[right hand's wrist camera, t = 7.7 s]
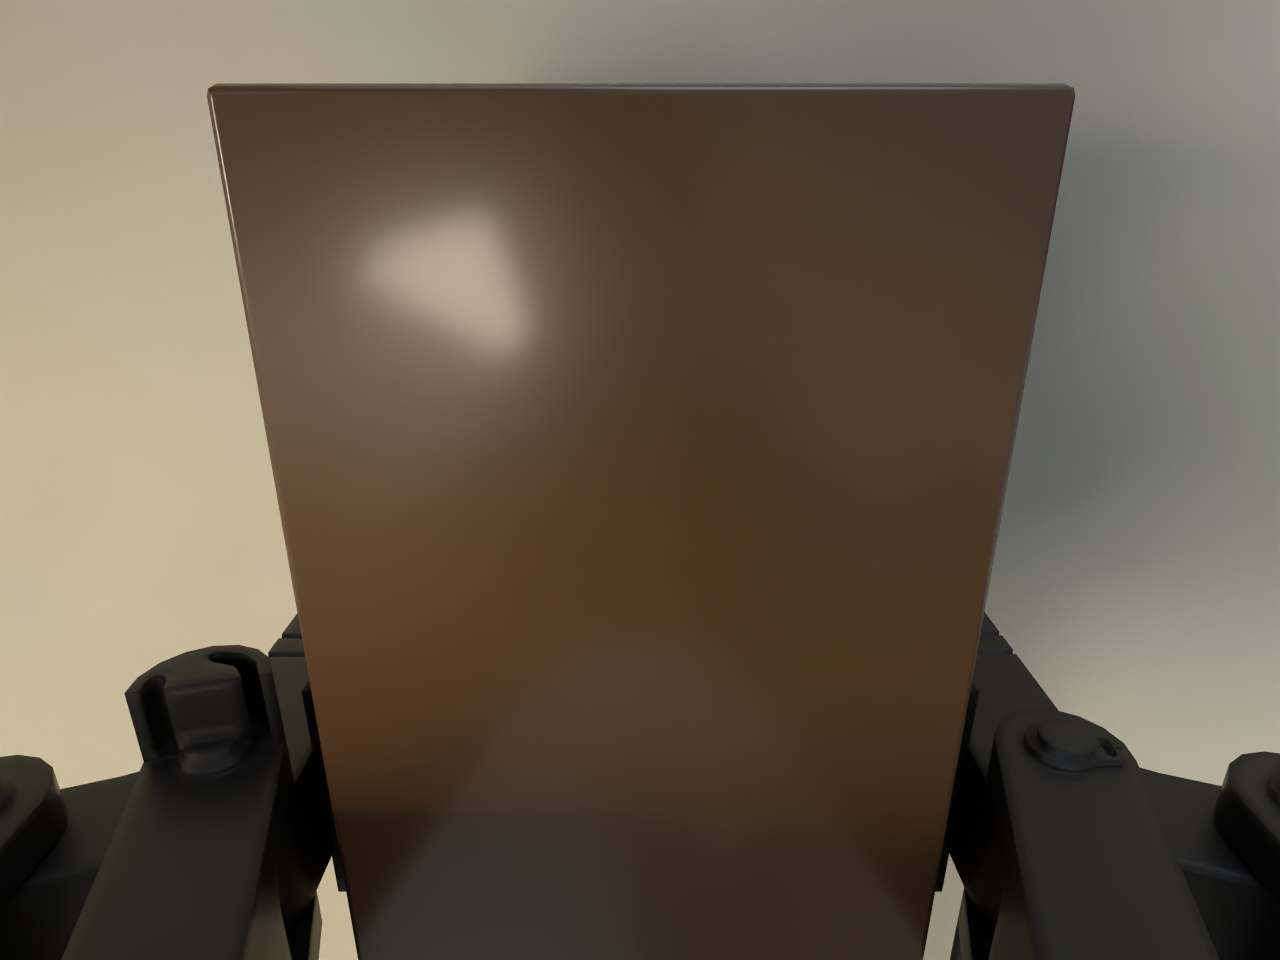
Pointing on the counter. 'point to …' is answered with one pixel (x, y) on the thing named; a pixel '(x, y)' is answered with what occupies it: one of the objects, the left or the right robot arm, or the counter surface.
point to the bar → (640, 490)
